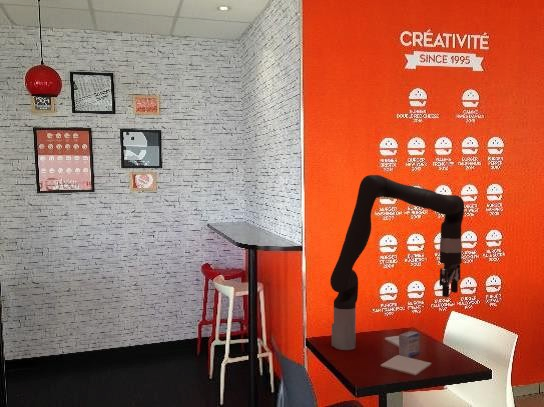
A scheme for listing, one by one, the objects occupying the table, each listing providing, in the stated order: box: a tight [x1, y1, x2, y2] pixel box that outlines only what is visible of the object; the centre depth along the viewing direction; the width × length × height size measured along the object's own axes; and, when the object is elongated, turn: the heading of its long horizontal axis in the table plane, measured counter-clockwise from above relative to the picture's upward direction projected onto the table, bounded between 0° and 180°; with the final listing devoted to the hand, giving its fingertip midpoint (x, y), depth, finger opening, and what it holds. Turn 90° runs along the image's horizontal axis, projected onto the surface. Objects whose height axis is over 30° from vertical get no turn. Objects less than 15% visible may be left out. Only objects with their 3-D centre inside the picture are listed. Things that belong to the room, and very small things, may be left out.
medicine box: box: [398, 330, 420, 358], centre depth 202 cm, size 8×4×9 cm, turn 131°
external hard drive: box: [384, 335, 399, 348], centre depth 217 cm, size 2×8×12 cm
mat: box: [380, 354, 432, 376], centre depth 190 cm, size 14×14×1 cm
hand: (450, 294), depth 182 cm, fingers open, 8 cm apart
